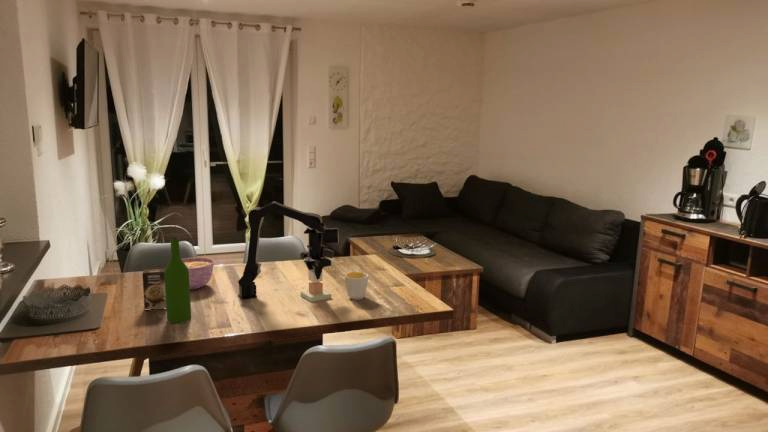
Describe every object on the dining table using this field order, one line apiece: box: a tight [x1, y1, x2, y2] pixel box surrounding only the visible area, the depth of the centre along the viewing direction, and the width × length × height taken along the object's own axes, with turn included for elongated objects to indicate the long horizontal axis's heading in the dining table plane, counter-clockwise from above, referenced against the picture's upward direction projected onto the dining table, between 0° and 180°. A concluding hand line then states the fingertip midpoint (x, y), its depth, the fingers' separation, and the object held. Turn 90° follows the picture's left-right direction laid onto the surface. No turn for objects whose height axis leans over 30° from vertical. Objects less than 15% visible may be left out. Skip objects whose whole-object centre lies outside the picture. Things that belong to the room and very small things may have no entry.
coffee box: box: [142, 267, 166, 310], centre depth 241 cm, size 9×6×16 cm
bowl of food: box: [181, 257, 215, 290], centre depth 270 cm, size 20×20×12 cm
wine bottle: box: [164, 237, 192, 324], centre depth 227 cm, size 9×9×32 cm
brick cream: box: [307, 269, 324, 282], centre depth 257 cm, size 4×4×4 cm
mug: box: [344, 271, 369, 301], centre depth 258 cm, size 14×10×10 cm
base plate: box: [300, 289, 332, 303], centre depth 258 cm, size 10×10×2 cm
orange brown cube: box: [308, 281, 324, 295], centre depth 258 cm, size 4×4×4 cm
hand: (315, 278), depth 257 cm, fingers closed on brick cream, 4 cm apart
